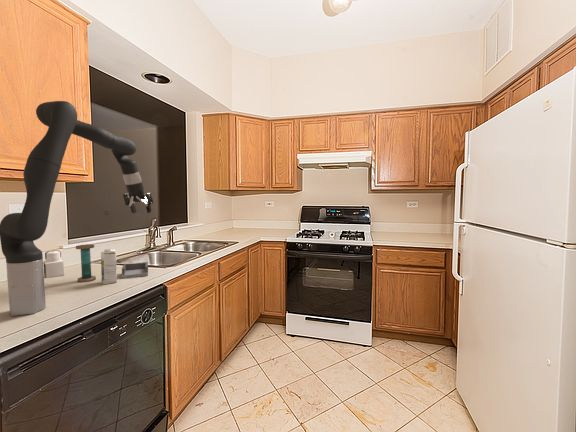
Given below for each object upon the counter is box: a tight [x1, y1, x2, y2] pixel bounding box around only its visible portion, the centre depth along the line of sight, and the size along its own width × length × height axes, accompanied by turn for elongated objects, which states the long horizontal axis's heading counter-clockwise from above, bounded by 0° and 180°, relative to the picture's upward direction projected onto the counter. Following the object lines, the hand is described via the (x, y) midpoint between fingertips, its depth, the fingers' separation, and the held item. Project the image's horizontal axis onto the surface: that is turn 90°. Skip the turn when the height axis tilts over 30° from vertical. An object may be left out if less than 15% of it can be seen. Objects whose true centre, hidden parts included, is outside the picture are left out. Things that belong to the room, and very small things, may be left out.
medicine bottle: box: [43, 250, 66, 279], centre depth 143 cm, size 7×7×12 cm
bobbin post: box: [75, 243, 97, 283], centre depth 135 cm, size 7×7×16 cm
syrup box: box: [100, 248, 118, 285], centre depth 132 cm, size 6×6×14 cm
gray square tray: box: [121, 261, 149, 279], centre depth 145 cm, size 11×11×4 cm
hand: (142, 212), depth 151 cm, fingers open, 8 cm apart
